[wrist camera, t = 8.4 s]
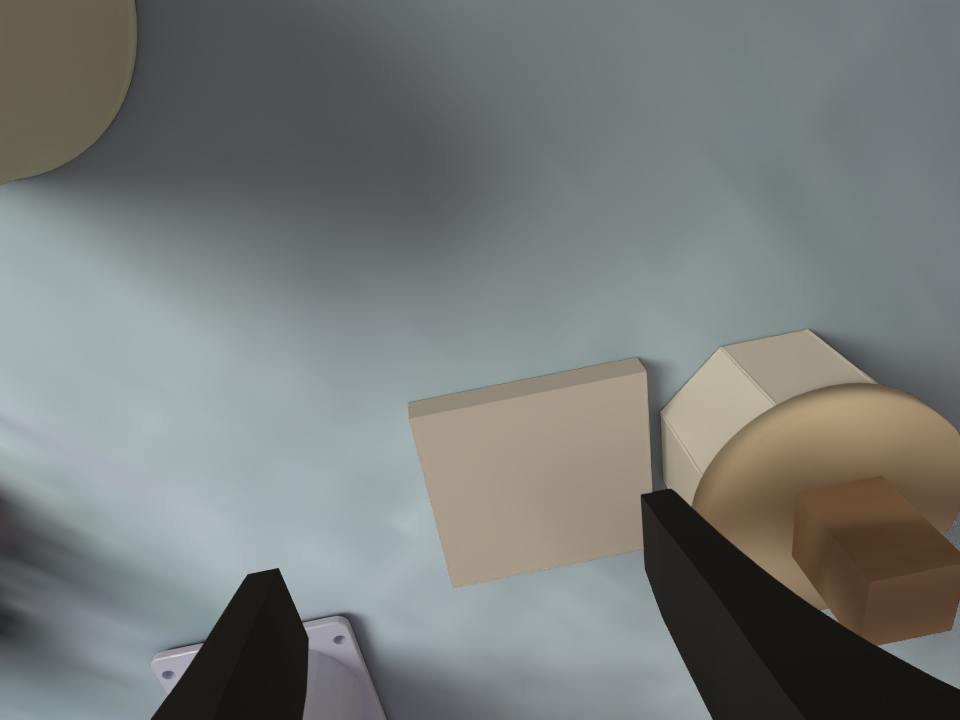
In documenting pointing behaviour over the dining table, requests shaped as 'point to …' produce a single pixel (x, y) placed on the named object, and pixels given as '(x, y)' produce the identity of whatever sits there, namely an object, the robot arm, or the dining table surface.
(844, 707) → the robot arm
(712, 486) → the lid
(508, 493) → the cream block
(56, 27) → the can
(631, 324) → the dining table surface
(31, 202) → the dining table surface
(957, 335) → the dining table surface
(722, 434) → the bowl
